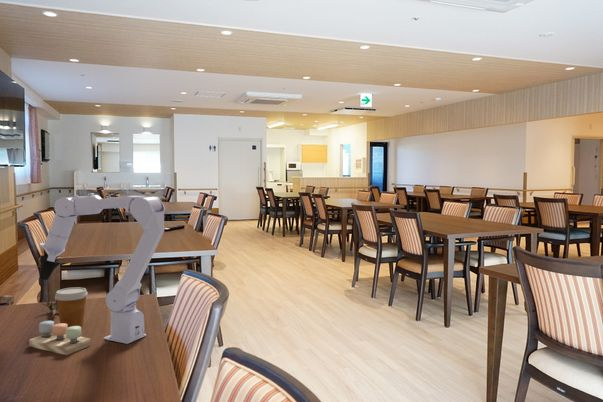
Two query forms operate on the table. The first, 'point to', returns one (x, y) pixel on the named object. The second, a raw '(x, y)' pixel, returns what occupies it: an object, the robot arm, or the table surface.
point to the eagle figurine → (51, 306)
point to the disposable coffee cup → (71, 305)
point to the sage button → (73, 333)
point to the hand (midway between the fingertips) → (44, 273)
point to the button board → (59, 344)
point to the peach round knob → (59, 331)
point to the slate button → (46, 328)
